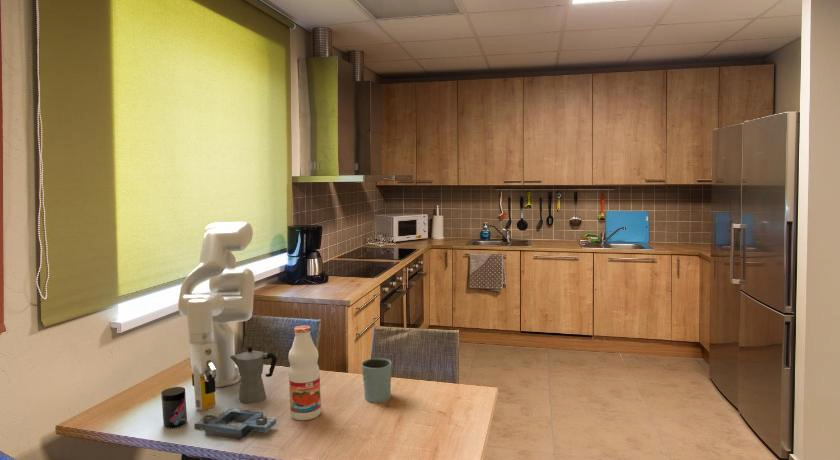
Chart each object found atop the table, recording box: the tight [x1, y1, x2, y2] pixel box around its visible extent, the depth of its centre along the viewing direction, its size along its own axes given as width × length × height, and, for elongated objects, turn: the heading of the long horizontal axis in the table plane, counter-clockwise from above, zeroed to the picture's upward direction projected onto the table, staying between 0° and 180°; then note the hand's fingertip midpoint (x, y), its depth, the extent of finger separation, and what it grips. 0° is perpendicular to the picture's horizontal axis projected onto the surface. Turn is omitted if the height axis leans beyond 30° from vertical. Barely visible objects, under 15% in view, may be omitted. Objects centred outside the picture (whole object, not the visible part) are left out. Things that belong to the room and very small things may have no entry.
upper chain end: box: [204, 407, 277, 435], centre depth 168 cm, size 18×12×2 cm, turn 74°
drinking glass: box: [361, 357, 393, 404], centre depth 190 cm, size 10×10×12 cm
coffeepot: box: [230, 345, 278, 405], centre depth 190 cm, size 15×9×18 cm, turn 92°
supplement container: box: [160, 386, 188, 429], centre depth 173 cm, size 7×7×10 cm
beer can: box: [193, 365, 216, 412], centre depth 184 cm, size 6×6×15 cm
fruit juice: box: [288, 324, 322, 421], centre depth 177 cm, size 9×9×28 cm
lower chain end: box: [193, 414, 253, 441], centre depth 170 cm, size 18×12×2 cm, turn 74°
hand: (203, 388), depth 183 cm, fingers open, 9 cm apart
